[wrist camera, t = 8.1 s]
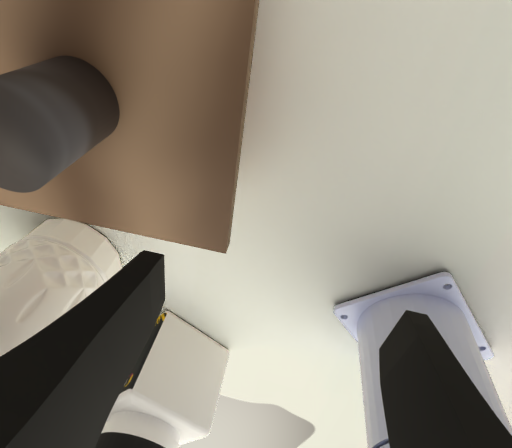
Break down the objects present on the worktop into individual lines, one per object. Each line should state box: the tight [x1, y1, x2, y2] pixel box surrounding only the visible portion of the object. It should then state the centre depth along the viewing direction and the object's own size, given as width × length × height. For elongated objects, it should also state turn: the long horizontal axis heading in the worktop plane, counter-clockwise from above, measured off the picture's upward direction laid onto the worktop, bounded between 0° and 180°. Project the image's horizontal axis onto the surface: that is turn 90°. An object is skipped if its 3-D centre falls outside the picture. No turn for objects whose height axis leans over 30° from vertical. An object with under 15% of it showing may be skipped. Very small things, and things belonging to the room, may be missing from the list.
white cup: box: [0, 218, 122, 356], centre depth 21 cm, size 8×8×10 cm
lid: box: [0, 0, 259, 253], centre depth 11 cm, size 12×12×5 cm
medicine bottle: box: [95, 311, 229, 448], centre depth 26 cm, size 7×7×12 cm
